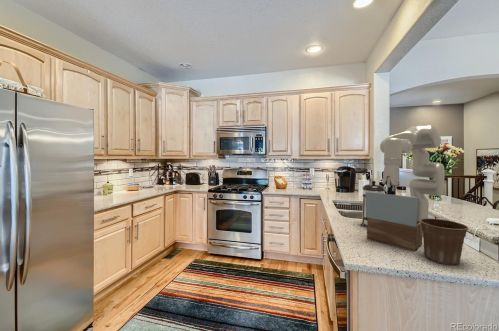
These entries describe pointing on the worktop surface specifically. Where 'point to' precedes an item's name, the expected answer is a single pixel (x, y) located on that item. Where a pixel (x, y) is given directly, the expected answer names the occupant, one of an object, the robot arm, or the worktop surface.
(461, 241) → the plant pot
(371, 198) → the lid
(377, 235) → the box
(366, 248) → the worktop surface
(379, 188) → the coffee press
